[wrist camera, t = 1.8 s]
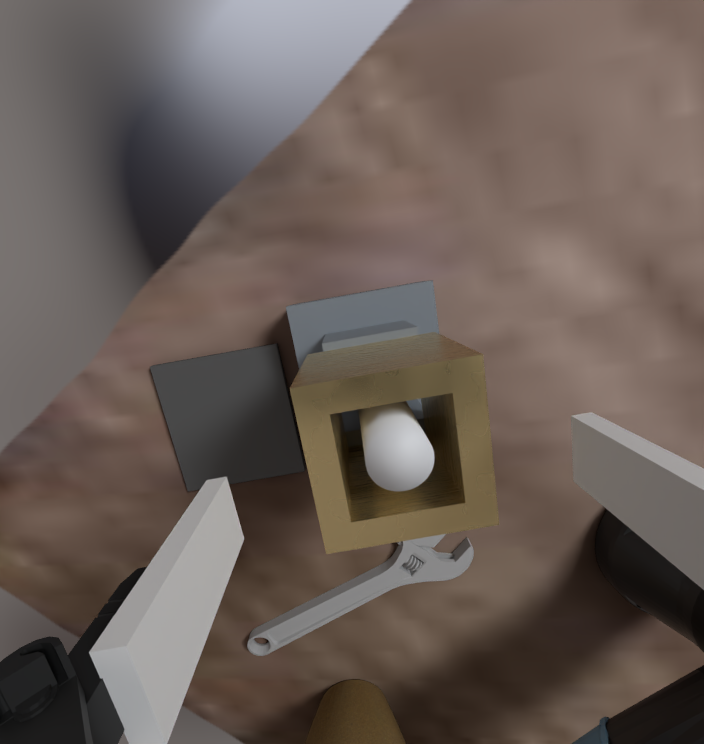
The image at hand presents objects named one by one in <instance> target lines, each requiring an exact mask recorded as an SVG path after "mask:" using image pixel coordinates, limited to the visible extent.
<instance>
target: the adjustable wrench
mask: <svg viewBox="0 0 704 744" xmlns="http://www.w3.org/2000/svg"><path fill="white" fill-rule="evenodd" d="M445 535H446V534H442V535H436V536H430V537H424V538H418V539H412V540H407V541H401V542H396V543H397V544H399V545H398V547H397V549H396V551H395V553H394V554H393V555H392V556H391V557H390V558H389V559H388V560H387V561H386V562H384V563H383V564H381V565H379V566H377V567H375V568H373V569H371V570H369V571H367V572H365V573H363V574H361V575H359V576H357V577H355V578H353V579H351V580H350V581H348V582H346V583H344V584H342V585H340V586H338V587H336V588H334V589H332V590H330V591H328V592H326V593H324V594H322V595H320V596H318V597H316V598H314V599H312V600H310V601H308V602H306V603H304V604H302V605H300V606H298V607H296V608H294V609H292V610H290V611H288V612H286V613H284V614H282V615H280V616H278V617H276V618H274V619H272V620H270V621H268V622H266V623H264V624H262V625H260V626H258V627H256V628H255V629H253V630H252V632H251V633H250V637H249V640H248V645H247V646H248V649H249V651H250V652H251V653H252V654H254V655H258V656H264V655H267V654H269V653H271V652H273V651H275V650H276V649H278V648H280V647H282V646H284V645H286V644H288V643H290V642H292V641H294V640H296V639H298V638H299V637H301V636H303V635H305V634H307V633H309V632H311V631H313V630H315V629H317V628H319V627H320V626H322V625H324V624H326V623H328V622H330V621H332V620H334V619H336V618H338V617H340V616H342V615H343V614H345V613H347V612H349V611H351V610H353V609H355V608H357V607H359V606H361V605H363V604H364V603H366V602H368V601H370V600H372V599H374V598H376V597H378V596H380V595H382V594H384V593H386V592H387V591H389V590H391V589H394V588H396V587H398V586H402V585H406V584H412V583H418V582H427V581H445V580H450V579H453V578H455V577H458V576H459V575H461V574H462V573H463V572H464V571H465V570H467V568H468V567H469V565H470V564H471V561H472V559H473V554H474V549H473V547H472V545H471V543H470V541H469V539H468V538H467V537H466V538H465V539H464V541H463V542H462V543H461V544H460V545H459V546H458V547H457V548H456V549H455V550H454V551H453V553H440V552H436V551H435V550H433V549H432V548H431V547H435V546H436V545H437V543H438V542H439V541H440V540H441V539H442V538H443V537H444V536H445ZM257 637H262V638H265V639H267V640H268V641H269V642H268V643H265V644H260V643H257V642H256V641H255V640H254V638H257Z"/></svg>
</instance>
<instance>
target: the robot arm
mask: <svg viewBox="0 0 704 744" xmlns="http://www.w3.org/2000/svg"><path fill="white" fill-rule="evenodd" d="M571 427H572V456H573V481H574V482H575V483H576V484H577V485H579V486H580V487H581V488H582V489H583V490H585V491H586V492H587V493H588V494H589V495H590V496H592V497H593V498H594V499H595V500H596V501H598V502H599V503H600V504H601V505H602V506H604V507H605V508H606V509H607V511H606V513H605V514H604V516H603V518H602V520H601V522H600V525H599V528H598V531H597V535H596V542H595V551H596V558H597V562H598V565H599V567H600V569H601V571H602V573H603V575H604V576H605V577H606V579H607V580H608V581H609V582H610V583H611V584H612V585H613V586H614V587H615V589H616V590H617V591H618V592H619V593H620V594H621V595H622V596H623V597H624V598H625V599H626V600H627V601H629V602H630V603H631V604H632V605H634V606H636V607H637V608H639V609H641V610H643V611H644V612H646V613H649V614H651V615H653V616H654V617H656V618H657V619H659V620H660V621H661V622H663V623H664V624H666V625H667V626H669V627H671V628H672V629H674V630H675V631H677V632H678V633H680V634H681V635H683V636H684V637H686V638H687V639H689V640H690V641H692V642H693V643H694V644H696V645H697V646H698V647H699V648H700V649H701V650H702V651H703V652H704V468H702V467H700V466H698V465H696V464H694V463H692V462H690V461H688V460H686V459H684V458H682V457H680V456H678V455H676V454H674V453H672V452H670V451H668V450H666V449H664V448H662V447H660V446H658V445H656V444H654V443H652V442H650V441H648V440H646V439H644V438H642V437H640V436H638V435H636V434H634V433H632V432H630V431H628V430H626V429H624V428H622V427H620V426H618V425H616V424H614V423H612V422H610V421H608V420H606V419H604V418H602V417H600V416H598V415H596V414H594V413H592V412H590V413H584V414H579V415H573V416H571ZM243 541H244V536H243V533H242V529H241V525H240V522H239V518H238V515H237V511H236V508H235V504H234V501H233V497H232V494H231V490H230V487H229V483H228V480H227V477H221V478H216V479H210V480H206V482H205V483H204V485H203V486H202V488H201V489H200V491H199V492H198V494H197V495H196V496H195V498H194V499H193V501H192V502H191V504H190V505H189V507H188V508H187V510H186V511H185V513H184V514H183V516H182V517H181V518H180V520H179V521H178V523H177V524H176V526H175V527H174V529H173V530H172V532H171V533H170V535H169V536H168V537H167V539H166V540H165V542H164V543H163V545H162V546H161V548H160V549H159V551H158V552H157V554H156V555H155V556H154V558H153V559H152V561H151V562H150V564H149V565H148V567H144V568H138V569H137V570H136V571H134V572H133V573H132V574H131V575H130V576H129V577H128V578H127V579H125V580H124V581H123V582H122V583H121V584H120V585H119V587H118V588H117V589H116V591H115V592H114V593H113V595H112V596H111V597H110V599H109V600H108V603H107V604H105V606H104V607H103V608H102V610H101V611H100V612H99V614H98V618H95V619H94V621H93V622H92V623H91V625H90V626H89V627H88V629H87V630H86V631H85V633H84V634H83V636H82V637H81V638H80V640H79V641H78V642H77V644H76V645H75V646H74V648H73V649H72V651H71V652H70V653H69V655H67V653H66V651H65V648H64V646H63V644H62V642H61V641H60V639H59V638H56V637H46V638H42V639H39V640H35V641H33V642H31V643H29V644H27V645H25V646H23V647H21V648H19V649H18V650H16V651H15V652H13V653H12V654H10V655H9V656H8V657H6V658H5V659H3V660H2V661H1V662H0V744H118V742H119V740H120V738H121V736H122V734H123V732H124V734H125V736H126V738H127V741H128V743H129V744H167V743H168V740H169V738H170V735H171V732H172V730H173V727H174V724H175V722H176V719H177V716H178V714H179V711H180V708H181V706H182V703H183V701H184V698H185V695H186V693H187V690H188V687H189V685H190V682H191V679H192V677H193V674H194V671H195V669H196V666H197V663H198V661H199V658H200V655H201V653H202V650H203V647H204V645H205V642H206V639H207V637H208V634H209V631H210V629H211V626H212V623H213V621H214V618H215V615H216V613H217V610H218V607H219V605H220V602H221V599H222V597H223V594H224V591H225V589H226V586H227V583H228V581H229V578H230V575H231V573H232V570H233V567H234V565H235V562H236V560H237V557H238V554H239V552H240V549H241V546H242V544H243ZM572 744H704V665H703V666H701V667H700V668H698V669H696V670H694V671H692V672H691V673H689V674H687V675H685V676H684V677H682V678H680V679H678V680H677V681H675V682H673V683H671V684H670V685H668V686H666V687H664V688H663V689H661V690H659V691H657V692H656V693H654V694H652V695H650V696H649V697H647V698H645V699H643V700H642V701H640V702H638V703H636V704H635V705H633V706H631V707H629V708H628V709H626V710H624V711H622V712H621V713H619V714H617V715H615V716H614V717H612V718H608V717H603V718H602V719H601V720H600V723H599V725H598V726H597V727H595V728H594V729H592V730H591V731H589V732H588V733H586V734H585V735H583V736H582V737H580V738H579V739H578V740H576V741H575V742H573V743H572Z"/></svg>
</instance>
